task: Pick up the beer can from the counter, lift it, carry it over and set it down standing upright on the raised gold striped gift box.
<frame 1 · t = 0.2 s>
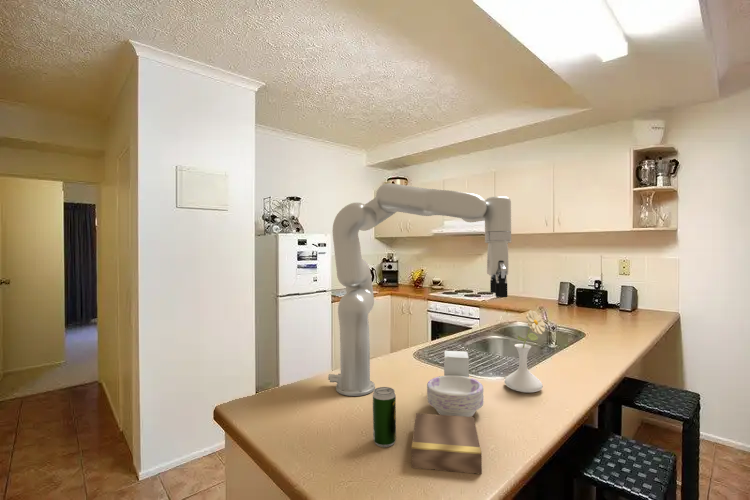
hand: (498, 294, 108), 31 cm above the counter, tool pointing down, fingers open, 9 cm apart
paper bowls: (455, 412, 99), on the counter
beer can: (384, 442, 84), on the counter
gold striped gift box: (445, 449, 81), on the counter
flower in vase: (525, 389, 115), on the counter
supplement box: (456, 395, 111), on the counter
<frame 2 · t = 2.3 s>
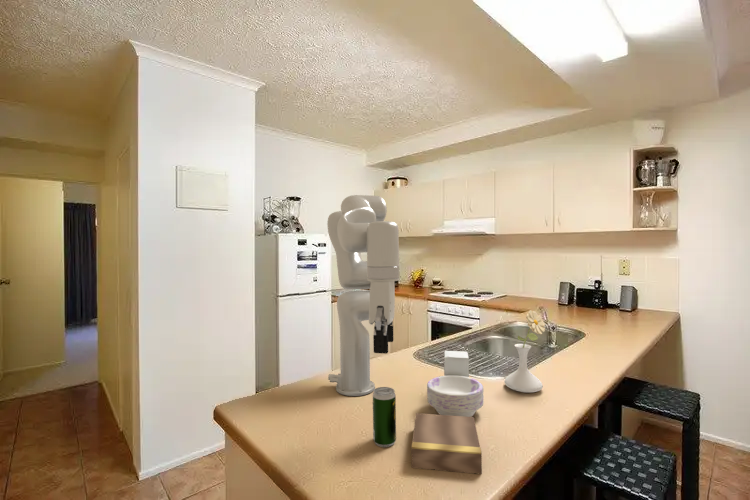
hand: (384, 347, 84), 22 cm above the counter, tool pointing down, fingers open, 9 cm apart
nothing on the counter moved.
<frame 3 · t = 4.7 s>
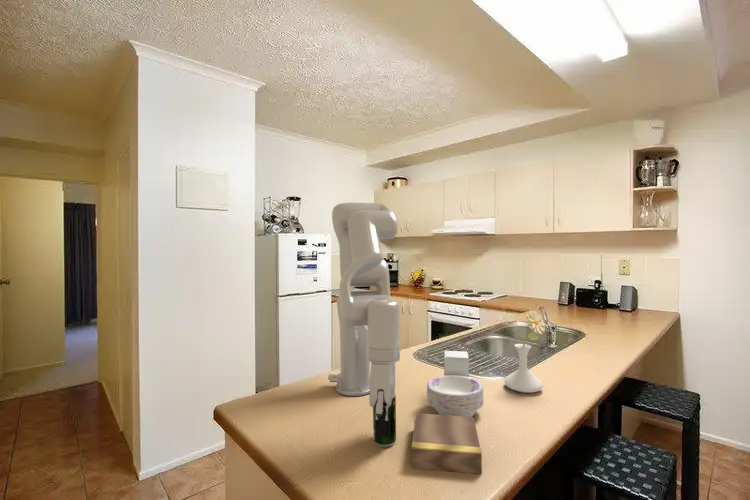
hand: (384, 429, 84), 3 cm above the counter, tool pointing down, fingers closed on beer can, 5 cm apart
beer can: (384, 442, 84), on the counter, touching gripper
everything else where it was.
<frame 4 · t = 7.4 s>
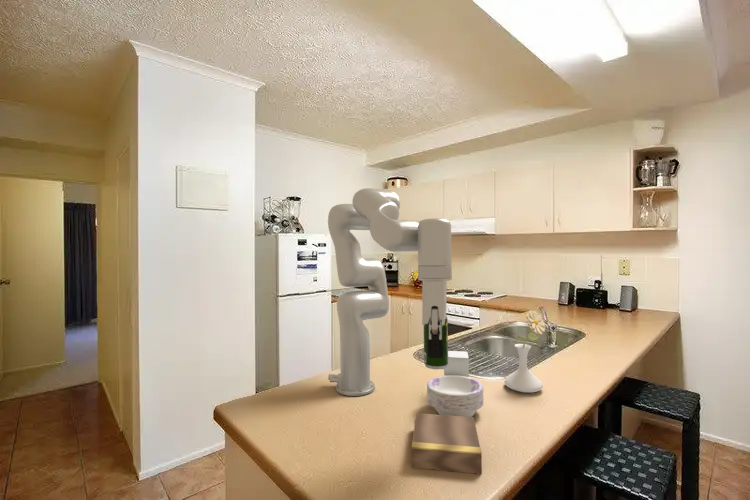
hand: (436, 352, 81), 22 cm above the counter, tool pointing down, fingers closed on beer can, 5 cm apart
beer can: (436, 366, 81), point 19 cm above the counter, touching gripper
everything else where it was.
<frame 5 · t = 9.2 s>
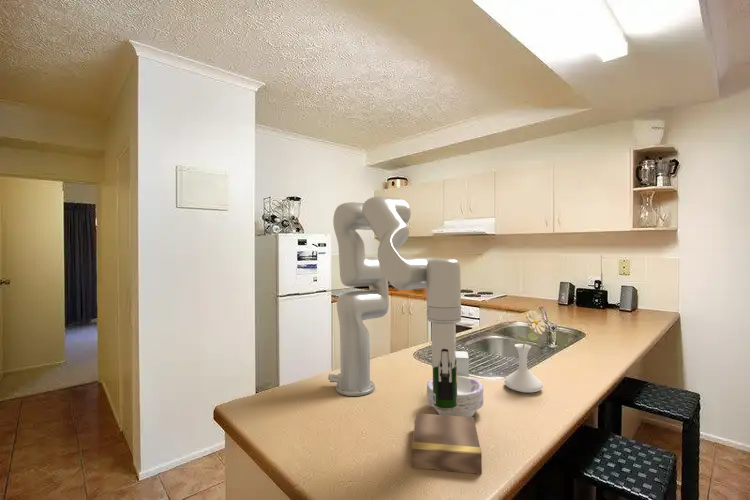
hand: (445, 393, 81), 13 cm above the counter, tool pointing down, fingers closed on beer can, 5 cm apart
beer can: (445, 407, 81), point 10 cm above the counter, touching gripper
everything else where it was.
when the fingers open (8 cm above the counter, at t = 10.5 s): beer can drops 1 cm, resting on gold striped gift box.
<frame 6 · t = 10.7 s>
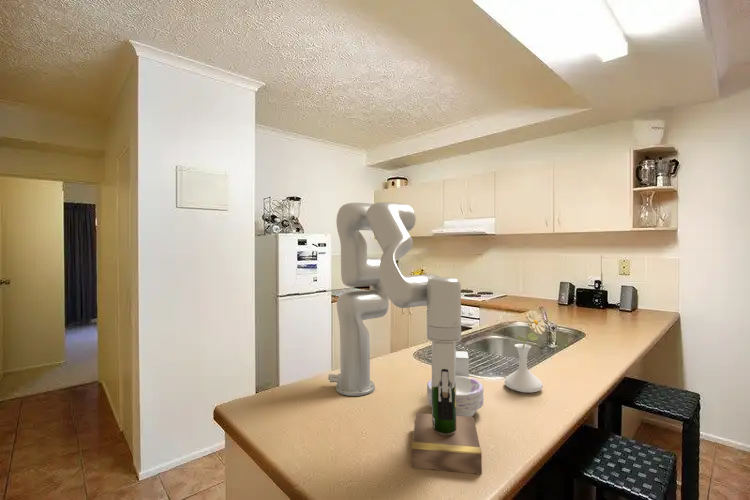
hand: (444, 410, 81), 9 cm above the counter, tool pointing down, fingers open, 7 cm apart
beer can: (444, 431, 81), point 4 cm above the counter, touching gold striped gift box
everything else where it was.
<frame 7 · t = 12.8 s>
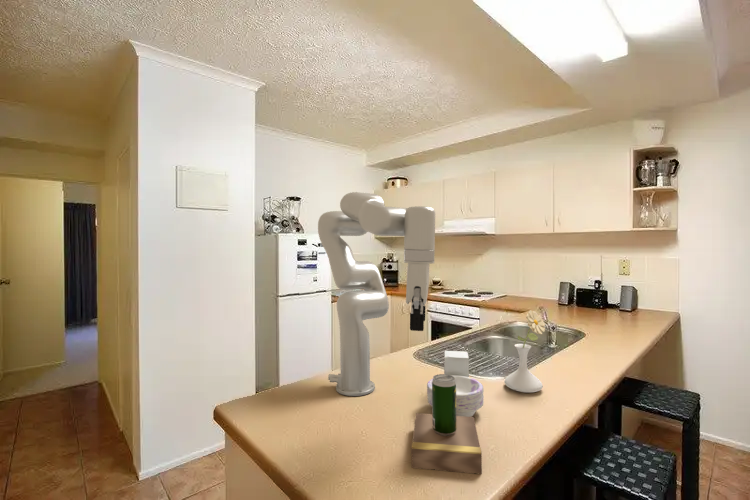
hand: (417, 325, 90), 26 cm above the counter, tool pointing down, fingers open, 9 cm apart
nothing on the counter moved.
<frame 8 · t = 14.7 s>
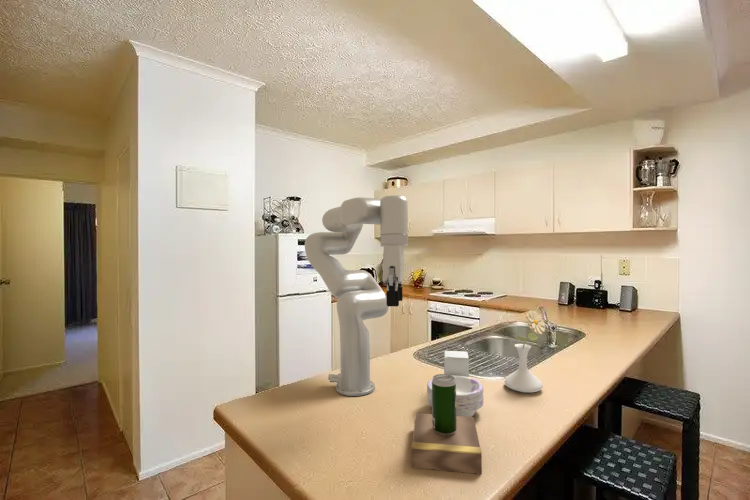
hand: (394, 303, 99), 30 cm above the counter, tool pointing down, fingers open, 9 cm apart
nothing on the counter moved.
at the end: beer can inside the target area on the gold striped gift box (0.4 cm from its centre), point 3.8 cm above the gold striped gift box's base; beer can tilted 0°; the gripper is holding nothing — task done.
